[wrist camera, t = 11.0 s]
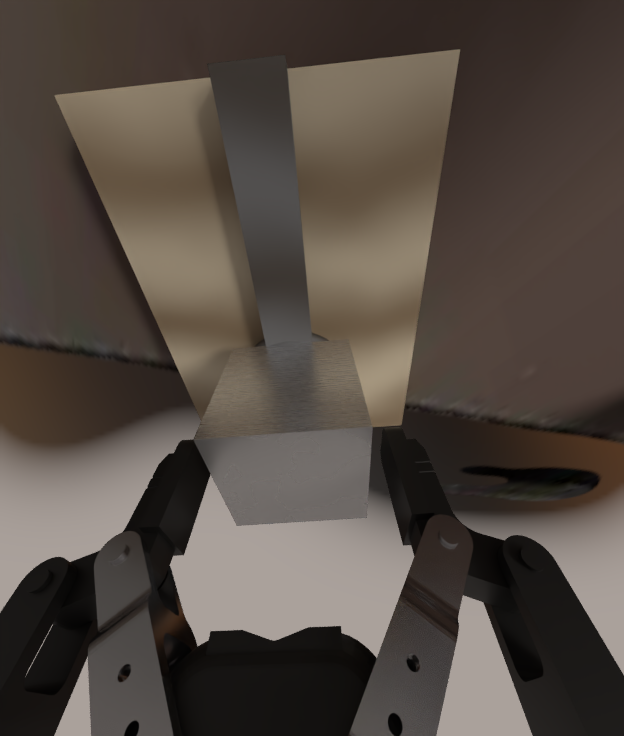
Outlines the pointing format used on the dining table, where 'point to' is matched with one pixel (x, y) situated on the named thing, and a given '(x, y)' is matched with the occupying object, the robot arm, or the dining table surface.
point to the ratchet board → (277, 207)
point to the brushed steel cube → (289, 434)
